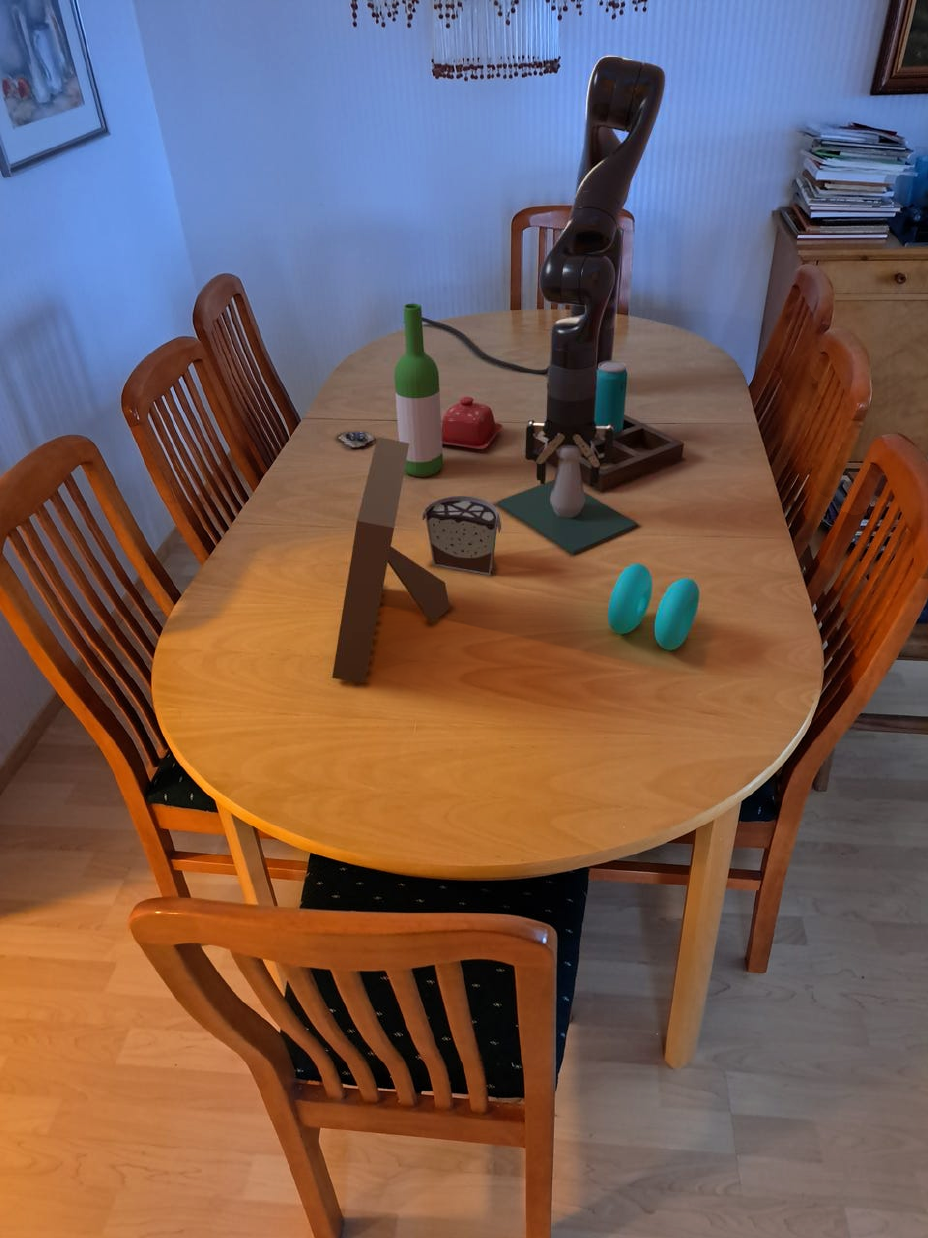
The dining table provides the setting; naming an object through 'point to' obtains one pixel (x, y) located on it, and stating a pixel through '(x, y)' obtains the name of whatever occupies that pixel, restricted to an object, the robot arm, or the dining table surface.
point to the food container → (462, 533)
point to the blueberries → (356, 438)
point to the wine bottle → (418, 400)
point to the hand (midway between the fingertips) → (567, 483)
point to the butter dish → (469, 425)
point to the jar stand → (626, 454)
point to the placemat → (567, 519)
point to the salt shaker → (568, 483)
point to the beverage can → (611, 394)
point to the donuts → (634, 601)
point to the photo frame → (379, 564)
